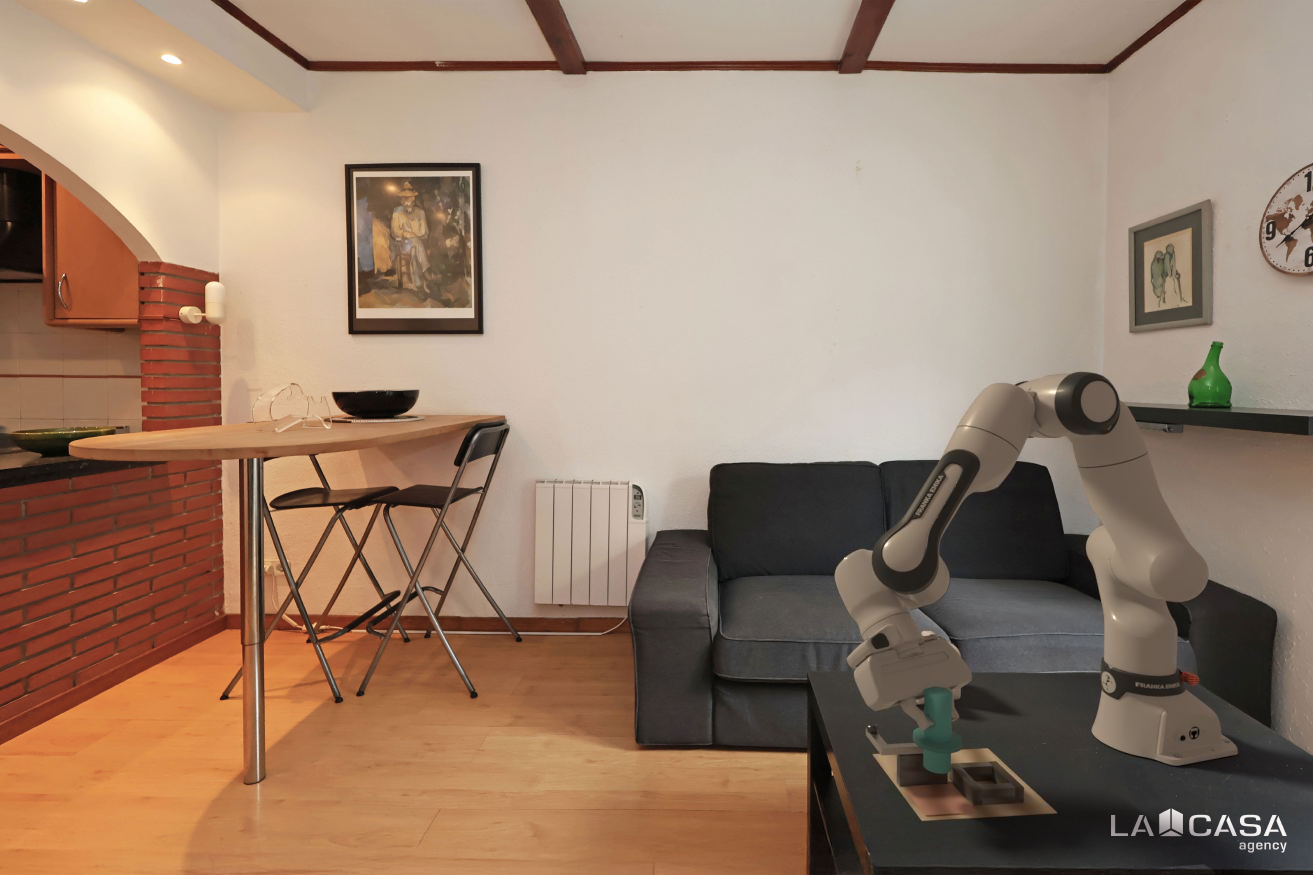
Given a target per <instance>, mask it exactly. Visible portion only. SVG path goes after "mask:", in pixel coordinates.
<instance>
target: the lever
mask: <svg viewBox="0 0 1313 875" xmlns="http://www.w3.org/2000/svg"><path fill="white" fill-rule="evenodd" d="M865 736H866V737H867V739H868V740H869V741H870V743H871V744H872V745H873V746H874V748H875V749H876V750H877V751H878V754H881V756H882V755H901V754H921V753H923V750H924V749H923V748H921V747H919V746H918V745H916V744H915V743H914V742H906V743H905V742H904V743H887V742H886V741H885V740H884V738H883V737H882V736H881V735H880V733H879V724H877V723H874V722H869V723H866V727H865Z"/></svg>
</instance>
